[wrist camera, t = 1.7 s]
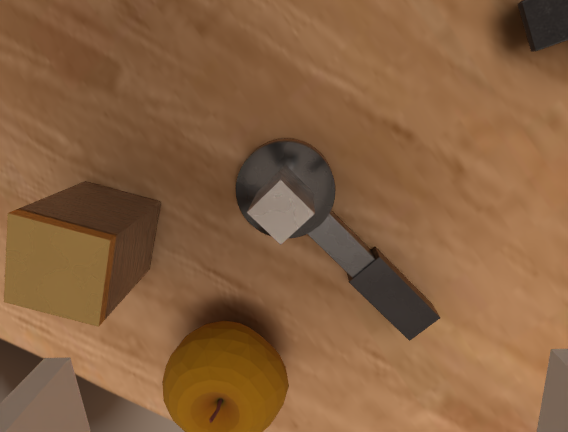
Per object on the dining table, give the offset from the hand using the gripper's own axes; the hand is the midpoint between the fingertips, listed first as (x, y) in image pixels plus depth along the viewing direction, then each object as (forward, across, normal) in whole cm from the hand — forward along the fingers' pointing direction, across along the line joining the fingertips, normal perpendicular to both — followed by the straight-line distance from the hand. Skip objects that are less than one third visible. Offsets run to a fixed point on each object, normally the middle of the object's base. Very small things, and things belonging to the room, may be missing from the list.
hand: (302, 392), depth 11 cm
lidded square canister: (+20, -15, -1) cm, 25 cm away
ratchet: (+20, +3, -3) cm, 20 cm away
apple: (+20, -6, -12) cm, 24 cm away
